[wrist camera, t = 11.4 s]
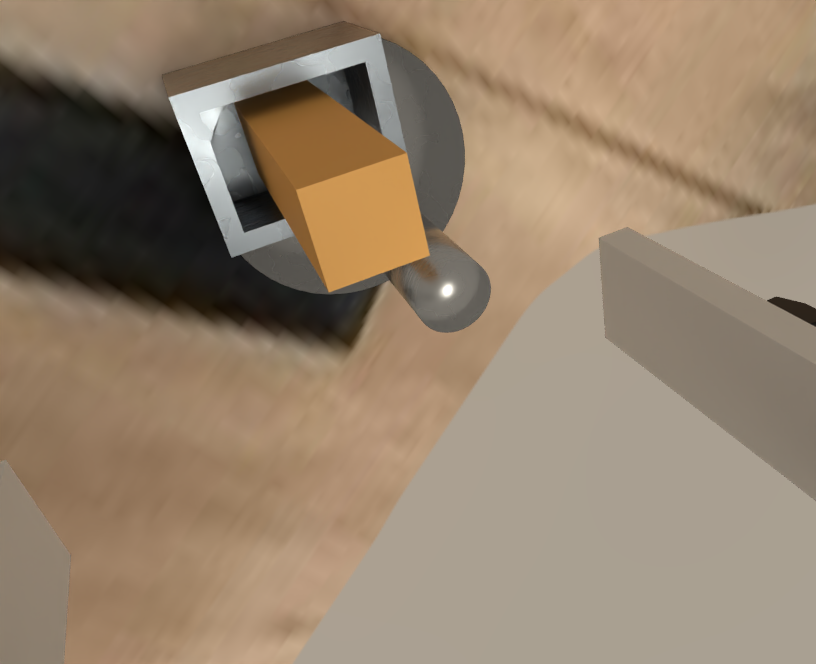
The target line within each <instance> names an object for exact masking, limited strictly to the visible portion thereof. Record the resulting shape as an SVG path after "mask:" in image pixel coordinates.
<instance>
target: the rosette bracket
mask: <svg viewBox="0 0 816 664" xmlns="http://www.w3.org/2000/svg"><path fill="white" fill-rule="evenodd" d="M162 78H163V81H164V84H165V88H166V91H167V94H168V98H169V100H170V103H171V105H172V108H173V110H174V113H175V115H176V118H177V120H178V123H179V125H180V128H181V131H182V133H183V136H184V138H185V141H186V143H187V146H188V148H189V151H190V153H191V156H192V158H193V161H194V164H195V166H196V169H197V171H198V174H199V176H200V179H201V181H202V184H203V186H204V189H205V191H206V194H207V196H208V199H209V202H210V204H211V207H212V209H213V212H214V214H215V217H216V219H217V222H218V224H219V227H220V229H221V232H222V235H223V237H224V240H225V242H226V245H227V247H228V250H229V252H230V255H231V257H235V256H237V255H240V254H241V255H242V257H243V258H244V259H245V260H246V261H247V262H249V263H250V264H251V265H252V266H253V267H254V268H255V269H257V270H258V271H260V272H261V273H263V274H264V275H266V276H267V277H269V278H270V279H272V280H274V281H277V282H279V283H281V284H283V285H285V286H288V287H291V288H294V289H297V290H301V291H306V292H311V293H319V294H343V293H350V292H356V291H361V290H364V289H368V288H371V287H374V286H377V285H379V284H381V283H384V282H386V281H388V280H390V281H391V283H392V284H393V285H394V286H395V288H396V289H397V290H398V291H399V293H400V294H401V295H402V296H403V298H404V299H405V300H406V301H407V303H408V304H409V305H410V306H411V308H412V309H413V310H414V311H415V313H416V314H417V315H418V316H419V318H420V319H421V320H422V321H423V323H424V324H425V325H426V326H428V327H429V328H431V329H433V330H435V331H438V332H446V333H448V332H455V331H459V330H462V329H464V328H466V327H468V326H469V325H471V324H472V323H473V322H475V321H476V320H477V319H478V318H479V317H480V316H481V314H482V313H483V312H484V310H485V308H486V306H487V304H488V302H489V298H490V293H491V286H490V280H489V277H488V275H487V273H486V272H485V270H484V269H483V268H482V267H481V266H480V265H479V264H478V263H477V262H475V261H474V260H473V259H472V258H471V257H470V256H469V255H468V254H467V253H465V252H464V251H463V250H462V249H461V248H460V247H459V246H458V245H456V244H455V243H454V242H453V241H452V240H451V239H450V238H449V237H448V236H446V235H445V234H444V233H443V230H444V229H445V227H446V225H447V223H448V221H449V219H450V218H451V216H452V214H453V211H454V209H455V206H456V203H457V201H458V198H459V194H460V190H461V186H462V182H463V175H464V167H465V148H464V140H463V133H462V128H461V124H460V120H459V117H458V114H457V112H456V109H455V106H454V104H453V102H452V100H451V98H450V96H449V94H448V93H447V91H446V89H445V87H444V86H443V85H442V83H441V82H440V81H439V79H438V78H437V76H436V75H435V74H434V73H433V72H432V71H431V70H430V69H429V68H428V67H427V66H426V65H425V64H424V63H423V62H422V61H421V60H419V59H418V58H417V57H416V56H414V55H413V54H412V53H410V52H409V51H407V50H405V49H404V48H402V47H400V46H398V45H396V44H395V43H392V42H389V41H387V40H384V39H382V38H381V36H380V33H377V32H374V31H371V30H368V29H365V28H362V27H359V26H356V25H353V24H350V23H348V22H345V21H343V22H339V23H336V24H333V25H329V26H326V27H322V28H319V29H316V30H312V31H309V32H305V33H302V34H299V35H295V36H292V37H289V38H285V39H282V40H278V41H275V42H272V43H268V44H265V45H261V46H258V47H255V48H251V49H248V50H245V51H241V52H238V53H234V54H231V55H228V56H224V57H221V58H217V59H214V60H211V61H207V62H204V63H201V64H197V65H194V66H190V67H187V68H184V69H180V70H177V71H174V72H170V73H167V74H163V75H162ZM305 80H308V81H309V82H310V83H312V84H313V85H315V86H316V87H317V88H319V89H320V90H321V91H323V92H324V93H325V94H327V95H328V96H330V97H331V98H332V99H334V100H335V101H336V102H338V103H339V104H341V105H342V106H343V107H345V108H346V109H347V110H349V111H350V112H352V113H353V114H354V115H356V116H357V117H358V118H360V119H361V120H363V121H364V122H365V123H367V124H368V125H369V126H371V127H372V128H374V129H375V130H376V131H378V132H379V133H380V134H382V135H383V136H385V137H386V138H387V139H389V140H390V141H391V142H393V143H394V144H395V145H397V146H398V147H400V148H401V149H402V150H404V151H405V152H406V153H407V156H408V160H409V164H410V169H411V173H412V178H413V182H414V187H415V191H416V196H417V200H418V205H419V209H420V213H421V218H422V222H423V227H424V231H425V236H426V240H427V245H428V249H429V254H430V256H427V257H425V258H422V259H419V260H416V261H414V262H411V263H408V264H405V265H403V266H400V267H397V268H395V269H392V270H389V271H386V272H384V273H381V274H378V275H375V276H373V277H370V278H367V279H365V280H362V281H359V282H356V283H354V284H351V285H348V286H345V287H343V288H340V289H337V290H334V291H332V292H328V290H327V289H326V287H325V285H324V283H323V282H322V280H321V278H320V277H319V275H318V273H317V272H316V270H315V268H314V267H313V265H312V263H311V262H310V260H309V258H308V257H307V255H306V253H305V252H304V250H303V248H302V247H301V245H300V243H299V242H298V240H297V238H296V236H295V235H294V233H293V231H292V230H291V228H290V226H289V225H288V223H287V221H286V220H285V218H284V216H283V215H282V213H281V211H280V210H279V208H278V206H277V205H276V203H275V201H274V200H273V198H272V196H271V194H270V193H269V191H268V189H267V188H266V186H265V184H264V183H263V181H262V179H261V178H260V176H259V174H258V171H257V168H256V166H255V163H254V160H253V157H252V154H251V151H250V148H249V145H248V143H247V140H246V137H245V134H244V131H243V128H242V125H241V122H240V119H239V117H238V114H237V111H236V108H235V105H234V102H237V101H240V100H243V99H246V98H250V97H253V96H256V95H259V94H263V93H266V92H269V91H272V90H276V89H279V88H282V87H285V86H289V85H292V84H295V83H298V82H302V81H305Z"/></svg>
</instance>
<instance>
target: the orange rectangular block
mask: <svg viewBox="0 0 816 664" xmlns="http://www.w3.org/2000/svg"><path fill="white" fill-rule="evenodd" d="M234 105H235V108H236V111H237V114H238V117H239V119H240V122H241V125H242V128H243V131H244V134H245V137H246V140H247V143H248V145H249V148H250V151H251V154H252V157H253V160H254V163H255V166H256V168H257V171H258V174H259V176H260V178H261V179H262V181H263V183H264V184H265V186H266V188H267V189H268V191H269V193H270V194H271V196H272V198H273V200H274V201H275V203H276V205H277V206H278V208H279V210H280V211H281V213H282V215H283V216H284V218H285V220H286V221H287V223H288V225H289V226H290V228H291V230H292V231H293V233H294V235H295V236H296V238H297V240H298V242H299V243H300V245H301V247H302V248H303V250H304V252H305V253H306V255H307V257H308V258H309V260H310V262H311V263H312V265H313V267H314V268H315V270H316V272H317V273H318V275H319V277H320V278H321V280H322V282H323V283H324V285H325V287H326V289H327V290H328V292H332V291H334V290H337V289H340V288H343V287H345V286H348V285H351V284H354V283H356V282H359V281H362V280H365V279H367V278H370V277H373V276H375V275H378V274H381V273H384V272H386V271H389V270H392V269H395V268H397V267H400V266H403V265H405V264H408V263H411V262H414V261H416V260H419V259H422V258H425V257H427V256H430V254H429V249H428V245H427V240H426V236H425V231H424V227H423V222H422V218H421V213H420V209H419V205H418V200H417V196H416V191H415V187H414V182H413V178H412V173H411V169H410V164H409V160H408V156H407V153H406V152H405V151H404V150H402V149H401V148H400V147H398V146H397V145H395V144H394V143H393V142H391V141H390V140H389V139H387V138H386V137H385V136H383V135H382V134H380V133H379V132H378V131H376V130H375V129H374V128H372V127H371V126H369V125H368V124H367V123H365V122H364V121H363V120H361V119H360V118H358V117H357V116H356V115H354V114H353V113H352V112H350V111H349V110H347V109H346V108H345V107H343V106H342V105H341V104H339V103H338V102H336V101H335V100H334V99H332V98H331V97H330V96H328V95H327V94H325V93H324V92H323V91H321V90H320V89H319V88H317V87H316V86H315V85H313V84H312V83H310V82H309V81H308V80H305V81H302V82H298V83H295V84H292V85H289V86H285V87H282V88H279V89H276V90H272V91H269V92H266V93H263V94H259V95H256V96H253V97H250V98H246V99H243V100H240V101H237V102H234Z"/></svg>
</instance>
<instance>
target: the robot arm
mask: <svg viewBox="0 0 816 664" xmlns="http://www.w3.org/2000/svg"><path fill="white" fill-rule="evenodd" d="M599 250H600V263H601V280H602V294H603V309H604V324H605V337H606V338H607V339H608V340H609V341H611V342H612V343H613V344H614V345H616V346H617V347H618V348H620V349H621V350H622V351H623V352H625V353H626V354H627V355H629V356H630V357H631V358H633V359H634V360H635V361H636V362H638V363H639V364H640V365H641V366H643V367H644V368H645V369H647V370H648V371H649V372H650V373H652V374H653V375H654V376H656V377H657V378H658V379H659V380H661V381H662V382H663V383H665V384H666V385H667V386H668V387H670V388H671V389H672V390H674V391H675V392H676V393H677V394H679V395H680V396H681V397H683V398H684V399H685V400H686V401H688V402H689V403H690V404H692V405H693V406H694V407H695V408H697V409H698V410H699V411H701V412H702V413H703V414H705V415H706V416H707V417H708V418H710V419H711V420H712V421H714V422H715V423H716V424H717V425H719V426H720V427H721V428H723V429H724V430H725V431H726V432H728V433H729V434H730V435H732V436H733V437H734V438H735V439H737V440H738V441H739V442H741V443H742V444H743V445H744V446H746V447H747V448H748V449H750V450H751V451H752V452H754V453H755V454H756V455H757V456H759V457H760V458H761V459H762V460H764V461H765V462H766V463H768V464H769V465H770V466H771V467H773V468H774V469H775V470H777V471H778V472H779V473H781V474H782V475H783V476H784V477H786V478H787V479H788V480H789V481H791V482H792V483H793V484H795V485H796V486H797V487H798V488H800V489H801V490H802V491H804V492H805V493H806V494H807V495H809V496H810V497H811V498H813V499H814V500H815V501H816V309H815V308H813V307H811V306H809V305H807V304H805V303H801V302H797V301H792V300H788V299H784V298H780V297H774V298H772V299H770V300H767V301H766V300H764V299H762V298H760V297H758V296H756V295H754V294H753V293H751V292H748V291H747V290H745V289H743V288H741V287H739V286H737V285H735V284H734V283H732V282H730V281H728V280H726V279H724V278H722V277H721V276H719V275H717V274H715V273H713V272H711V271H709V270H707V269H705V268H704V267H701V266H700V265H698V264H696V263H694V262H692V261H690V260H688V259H687V258H685V257H683V256H681V255H679V254H677V253H675V252H673V251H671V250H670V249H668V248H666V247H664V246H662V245H660V244H658V243H656V242H655V241H653V240H651V239H649V238H647V237H645V236H643V235H641V234H639V233H638V232H636V231H634V230H632V229H630V228H628V227H626V228H624V229H621V230H618V231H616V232H613V233H610V234H608V235H605V236H602V237H600V238H599ZM70 562H71V555H70V553H69V552H68V550H67V549H66V547H65V546H64V544H63V543H62V541H61V540H60V538H59V537H58V535H57V534H56V532H55V531H54V530H53V528H52V527H51V525H50V524H49V522H48V521H47V519H46V518H45V516H44V515H43V513H42V512H41V510H40V509H39V508H38V506H37V505H36V503H35V502H34V500H33V499H32V497H31V496H30V494H29V493H28V491H27V490H26V488H25V487H24V486H23V484H22V483H21V481H20V480H19V478H18V477H17V475H16V474H15V472H14V471H13V469H12V468H11V466H10V465H9V463H8V462H7V461H6V460H4V461H1V462H0V664H64V655H65V639H66V624H67V608H68V593H69V578H70Z"/></svg>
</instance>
